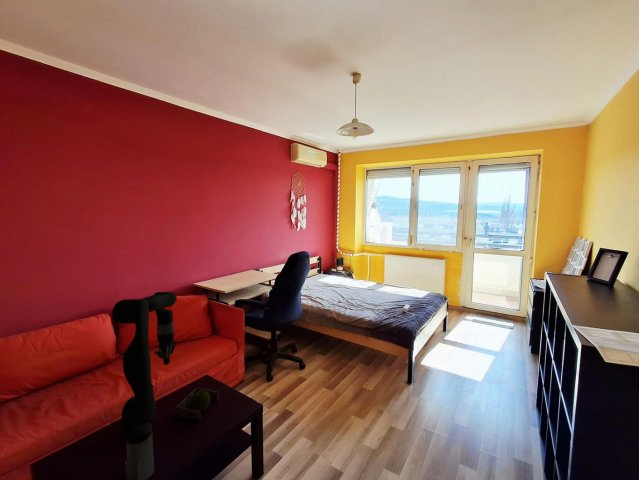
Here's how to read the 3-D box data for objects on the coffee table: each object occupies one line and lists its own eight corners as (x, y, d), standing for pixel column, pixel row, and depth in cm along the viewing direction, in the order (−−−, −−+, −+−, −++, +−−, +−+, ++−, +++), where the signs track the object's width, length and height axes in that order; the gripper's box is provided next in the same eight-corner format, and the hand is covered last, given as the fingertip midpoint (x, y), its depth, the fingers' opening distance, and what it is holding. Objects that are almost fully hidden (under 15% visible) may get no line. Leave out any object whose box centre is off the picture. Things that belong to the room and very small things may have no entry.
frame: (199, 420, 154) (199, 411, 153) (175, 416, 157) (175, 407, 156) (218, 399, 171) (218, 391, 171) (196, 395, 174) (196, 387, 174)
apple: (210, 413, 159) (209, 394, 158) (190, 417, 156) (190, 398, 155) (210, 402, 169) (210, 384, 168) (192, 405, 166) (191, 387, 164)
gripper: (162, 337, 140) (163, 372, 141) (181, 326, 152) (182, 358, 154) (148, 335, 141) (150, 369, 143) (168, 325, 154) (169, 356, 156)
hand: (166, 363), depth 149 cm, fingers closed
